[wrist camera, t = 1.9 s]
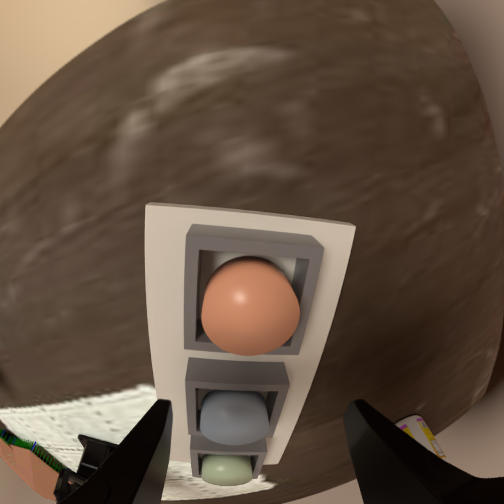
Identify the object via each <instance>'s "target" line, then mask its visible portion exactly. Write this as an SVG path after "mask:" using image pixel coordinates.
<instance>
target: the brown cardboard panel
mask: <svg viewBox="0 0 504 504" xmlns="http://www.w3.org/2000/svg"><path fill="white" fill-rule="evenodd" d="M1 430H2V429H1ZM1 430H0V432H1ZM2 431H3V430H2ZM4 432H5V430H4ZM4 432H3V433H2V432H1V433H2V435H1V433H0V435H1V436H0V457H1V458H2V459H3V460H4V461H5V462H6V463H7V464H8V465H9V467H10V468H11V469H12V470H13V471H14V472H15V473H16V474H17V475H18V476H19V477H20V478H21V479H22V480H23V481H24V482H25V483H26V484H28V485H29V486H30V487H31V488H32V489H33V490H34V491H35V492H37V493H38V494H40V495H41V496H43V497H44V498H47V499H51V500H54V501H56V498H55V496H54V494H53V492H54V489H55V486H56V482H57V479H58V476H59V473H57V472H56V470H57V468H55V467H54V469H55V470H53V469H52V468H51V467H50V466H51V464H50V463H49V464H48V465H50V466H48V465H47V463H45V462H43V461H42V460H41V459H40V458H39V457H37V455H35V452H34V453H33V452H32V451H33V449H34V448H35V447H34V446H35V444H36V442H35V443H34V445H33V448H32V450H31V451H30V449H29V450H28V448H26V447H25V448H26V449H24V445H25V444H23V443H24V441H25V439H24V441H23V443H22V445H23V448H21V447H22V445H21V443H19V442H20V440H21V438H20V440H19V442H18V440H17V439H19V438H17V437H15V438H14V436H13V438H14V440H13V438H12V436H10V437H11V438H12V440H13V441H12V440H11V438H10V437H9V439H10V440H9V439H8V441H9V442H10V441H11V442H12V444H11V442H10V444H9V442H8V441H7V442H6V441H5V439H6V437H5V439H3V438H2V437H3V434H4ZM7 434H8V433H7ZM6 436H7V435H6ZM16 438H17V439H16ZM15 440H16V441H17V442H16V441H15ZM22 440H23V439H22ZM26 441H27V440H26ZM14 442H15V443H16V444H15V443H14ZM21 442H22V441H21ZM28 442H29V440H28ZM28 442H27V444H28ZM33 442H34V441H33ZM33 442H32V444H33ZM17 443H18V444H20V445H21V447H20V445H19V446H18V444H17ZM25 443H26V442H25ZM30 443H31V441H30ZM30 443H29V445H30ZM13 444H14V445H15V446H14V445H13ZM32 444H31V446H30V448H31V447H32ZM16 445H17V446H18V447H17V446H16ZM29 445H26V446H28V447H29ZM38 445H39V444H38ZM38 445H37V447H38ZM40 447H41V446H40ZM35 449H36V450H37V448H35ZM39 449H40V448H39ZM36 450H35V451H36ZM43 450H44V449H43ZM37 451H38V452H39V450H37ZM38 452H37V454H38ZM42 452H43V451H42ZM46 452H47V451H46ZM41 454H42V453H41ZM45 455H46V453H45ZM49 455H50V454H49ZM40 457H41V455H40ZM44 457H45V456H44ZM48 457H49V456H48ZM52 457H53V456H52ZM43 460H44V458H43ZM47 460H48V458H47ZM51 460H52V458H51ZM55 460H56V459H55ZM55 460H54V462H55ZM46 462H47V461H46ZM50 462H51V461H50ZM58 462H59V461H58ZM57 464H58V463H57ZM53 465H54V463H53ZM55 466H56V467H58V466H57V465H55ZM60 466H61V465H60ZM52 467H53V466H52ZM58 468H59V469H60V467H58ZM62 468H64V466H63V467H62ZM64 469H65V468H64ZM67 469H68V468H66V470H67ZM60 470H61V469H60ZM58 472H60V471H59V470H58ZM68 483H70V484H73V483H71V482H70V481H68ZM56 502H57V501H56Z"/></svg>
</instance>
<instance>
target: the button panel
mask: <svg viewBox="0 0 504 504" xmlns="http://www.w3.org/2000/svg"><path fill="white" fill-rule="evenodd" d="M355 228H356V226H354V225H352V224H351V223H347V222H340V221H333V220H325V219H318V218H310V217H302V216H294V215H285V214H277V213H268V212H259V211H249V210H239V209H229V208H218V207H207V206H195V205H182V204H168V203H153V202H150V203H148V204H147V205H146V210H145V278H146V300H147V316H148V328H149V339H150V349H151V358H152V366H153V374H154V381H155V388H156V394H157V400H158V399H168V400H171V403H172V411H173V425H172V436H171V450H170V458H169V459H170V460H175V461H183V462H191V467H192V475H193V477H202V457H203V456H204V455H205V454H216V455H249V456H250V458H251V466H252V476H253V478H252V479H257V478H258V475H259V473H260V470H261V468H262V465H265V464H278V463H279V461H280V459H281V456H282V454H283V452H284V450H285V448H286V445H287V443H288V441H289V439H290V436H291V434H292V432H293V429H294V427H295V425H296V422H297V420H298V417H299V415H300V412H301V410H302V407H303V405H304V402H305V400H306V397H307V395H308V392H309V389H310V386H311V384H312V381H313V378H314V375H315V373H316V370H317V367H318V364H319V361H320V358H321V355H322V352H323V349H324V346H325V343H326V340H327V337H328V333H329V330H330V327H331V324H332V320H333V317H334V313H335V310H336V306H337V303H338V299H339V295H340V292H341V288H342V284H343V280H344V276H345V272H346V268H347V264H348V260H349V256H350V251H351V247H352V242H353V238H354V233H355ZM241 256H257V257H262V258H265V259H267V260H270V261H272V262H273V263H275V264H276V265H277V266H279V267H280V268H281V269H282V270H283V272H284V273H285V275H286V276H287V278H288V281H289V283H290V285H291V287H292V289H293V291H294V293H295V295H296V298H297V300H298V303H299V308H300V317H299V322H298V325H297V328H296V330H295V331H294V333H293V335H292V336H291V337H290V338H289V339H288V340H287V341H286V342H285V343H284V344H283V345H281V346H280V347H279V348H277V349H275V350H273V351H271V352H268V353H265V354H261V355H255V356H241V355H236V354H232V353H229V352H227V351H224V350H223V349H221V348H219V347H218V346H217V345H215V344H214V343H213V342H212V341H211V340H210V339H209V337H208V336H207V334H206V333H205V331H204V328H203V325H202V317H201V314H202V307H203V300H204V294H205V288H206V284H207V282H208V279H209V277H210V276H211V274H212V273H213V272H214V271H215V269H217V268H218V267H219V266H220V265H221V264H223V263H224V262H226V261H228V260H230V259H233V258H236V257H241ZM214 389H215V390H233V391H258V392H259V393H260V394H261V395H262V396H263V397H264V399H265V402H266V408H267V414H268V420H269V431H268V432H267V434H266V435H265V436H264V437H263V438H261V439H259V440H257V441H255V442H252V443H249V444H244V445H224V444H219V443H216V442H213V441H211V440H209V439H208V438H206V437H205V436H204V435H203V434H202V432H201V430H200V421H201V406H202V400H203V398H204V396H205V395H206V394H207V393H208V392H210V391H212V390H214Z"/></svg>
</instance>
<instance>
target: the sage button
mask: <svg viewBox="0 0 504 504" xmlns="http://www.w3.org/2000/svg"><path fill="white" fill-rule="evenodd" d="M252 478H253V476H252V466H251V458H250V456H249V455H216V454H205V455H204V456H203V457H202V479H203V480H204V481H206V482H208V483H210V484H214V485H219V486H236V485H242V484H245V483H248V482H249V481H251V480H252Z"/></svg>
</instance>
